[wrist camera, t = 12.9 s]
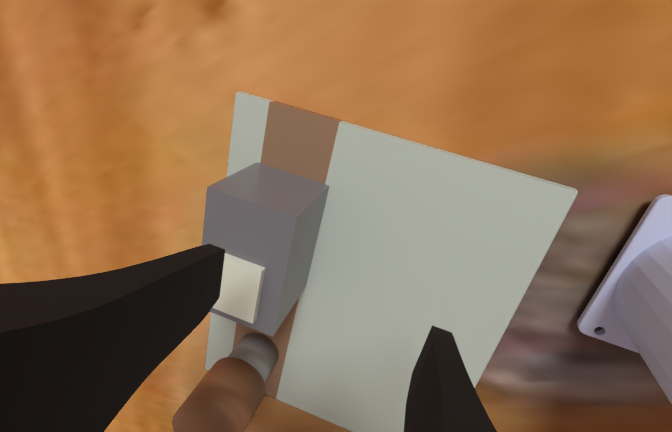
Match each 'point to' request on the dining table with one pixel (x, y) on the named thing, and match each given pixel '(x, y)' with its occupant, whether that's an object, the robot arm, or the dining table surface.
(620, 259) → the robot arm
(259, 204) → the block
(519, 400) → the dining table surface
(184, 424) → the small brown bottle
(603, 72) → the dining table surface
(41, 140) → the dining table surface
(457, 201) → the panel
